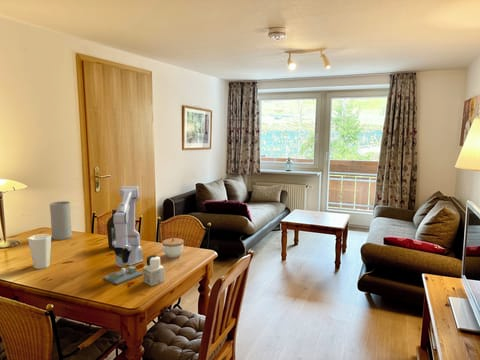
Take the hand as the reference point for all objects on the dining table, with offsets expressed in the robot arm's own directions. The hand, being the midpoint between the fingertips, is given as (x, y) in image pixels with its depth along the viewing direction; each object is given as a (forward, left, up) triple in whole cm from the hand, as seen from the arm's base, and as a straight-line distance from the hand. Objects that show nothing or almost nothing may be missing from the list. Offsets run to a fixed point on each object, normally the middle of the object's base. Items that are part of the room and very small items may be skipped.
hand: (122, 261), depth 175 cm
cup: (+19, -48, -9) cm, 52 cm away
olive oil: (-25, -44, -9) cm, 51 cm away
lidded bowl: (-37, -3, -9) cm, 38 cm away
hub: (0, 0, -2) cm, 2 cm away
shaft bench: (0, 0, -8) cm, 8 cm away
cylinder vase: (-14, -93, -9) cm, 94 cm away
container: (-6, +17, -9) cm, 20 cm away
